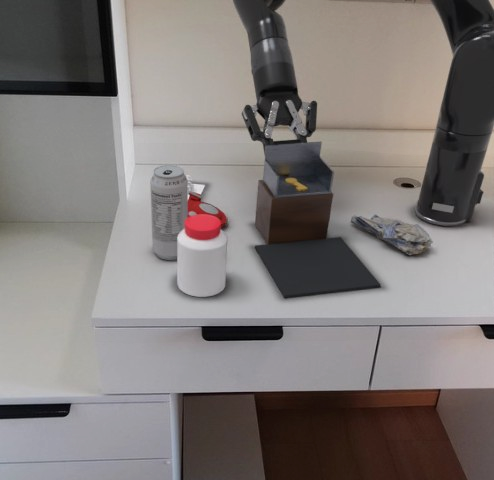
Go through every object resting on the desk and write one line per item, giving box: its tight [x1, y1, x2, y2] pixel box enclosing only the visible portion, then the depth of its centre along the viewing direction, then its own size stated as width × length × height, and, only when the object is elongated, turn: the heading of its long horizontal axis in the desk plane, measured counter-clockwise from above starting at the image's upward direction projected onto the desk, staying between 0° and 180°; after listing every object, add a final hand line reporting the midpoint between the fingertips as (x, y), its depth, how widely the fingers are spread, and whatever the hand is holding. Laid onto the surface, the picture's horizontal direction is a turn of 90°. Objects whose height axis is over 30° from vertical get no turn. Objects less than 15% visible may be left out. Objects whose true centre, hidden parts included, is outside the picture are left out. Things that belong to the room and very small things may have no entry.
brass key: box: [285, 178, 308, 191], centre depth 106 cm, size 5×2×1 cm, turn 31°
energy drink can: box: [149, 164, 188, 261], centre depth 102 cm, size 6×6×15 cm
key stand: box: [254, 179, 334, 244], centre depth 110 cm, size 8×11×9 cm
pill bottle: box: [176, 214, 229, 298], centre depth 95 cm, size 8×8×11 cm
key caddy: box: [262, 138, 335, 198], centre depth 107 cm, size 12×10×6 cm
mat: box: [254, 236, 382, 299], centre depth 103 cm, size 16×16×1 cm
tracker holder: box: [188, 191, 228, 229], centre depth 115 cm, size 12×4×10 cm
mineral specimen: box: [350, 214, 433, 256], centre depth 110 cm, size 15×8×4 cm, turn 22°
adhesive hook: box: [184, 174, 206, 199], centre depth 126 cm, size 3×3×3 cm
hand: (287, 159), depth 109 cm, fingers closed on key caddy, 5 cm apart
